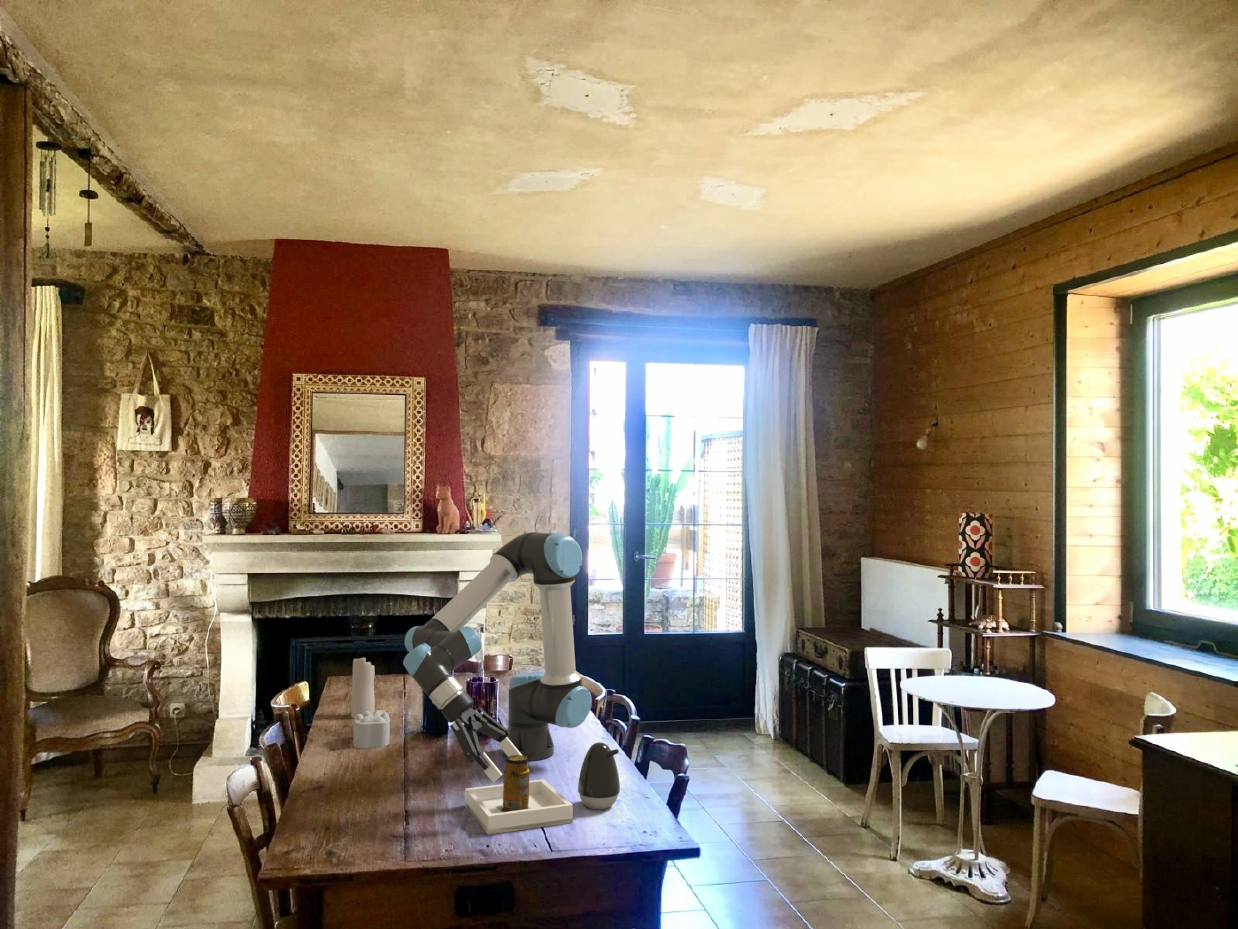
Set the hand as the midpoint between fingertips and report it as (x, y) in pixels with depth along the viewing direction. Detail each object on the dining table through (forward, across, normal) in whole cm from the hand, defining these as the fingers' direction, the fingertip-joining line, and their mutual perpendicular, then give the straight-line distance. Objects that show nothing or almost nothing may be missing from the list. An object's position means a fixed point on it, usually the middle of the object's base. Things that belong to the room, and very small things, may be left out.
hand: (509, 770), depth 210 cm
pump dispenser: (+21, -12, +6) cm, 24 cm away
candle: (-48, -73, -64) cm, 109 cm away
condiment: (+8, 0, -5) cm, 10 cm away
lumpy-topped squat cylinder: (-36, -44, -52) cm, 76 cm away
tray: (+9, 0, -6) cm, 10 cm away
